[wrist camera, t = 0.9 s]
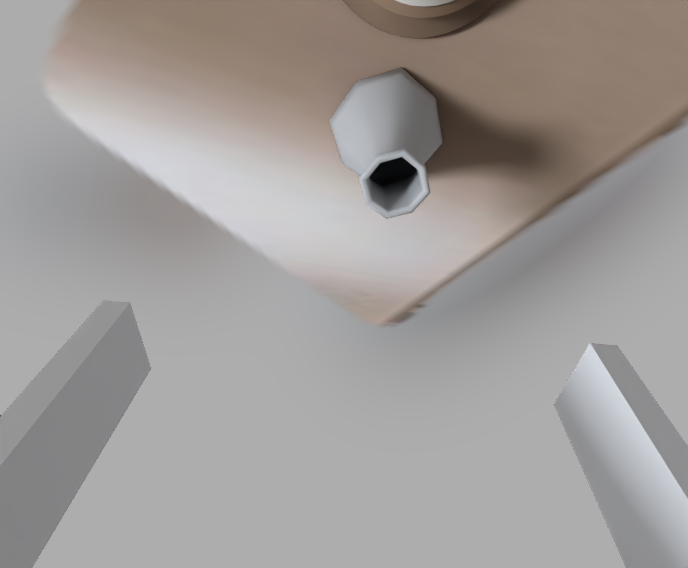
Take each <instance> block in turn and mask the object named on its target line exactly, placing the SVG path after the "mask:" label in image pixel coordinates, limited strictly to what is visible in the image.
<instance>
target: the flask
mask: <svg viewBox="0 0 688 568" xmlns="http://www.w3.org/2000/svg"><path fill="white" fill-rule="evenodd" d="M329 122H330V125H331V128H332V132H333V135H334V138H335V141H336V145H337V148H338V151H339V155H340V158H341V161H342V163H343V164H345V165H346V166H347V167H349V168H350V169H351V170H353V171H354V172H355V173H357V174H358V175H359V176H360V177H359V181H360V185H361V188H362V192H363V195H364V199H365V202H366V204H367V205H368V206H370V207H371V208H372V209H374V210H375V211H376V212H378V213H379V214H381V215H382V216H383V217H385V218H386V219H388V218H392V217H396V216H400V215H404V214H408V213H412V212H413V211H414V210H415V209H416V208H417V207H418V205H419V204H420V203H421V202H422V201H423V200H424V199H425V198H426V197H427V196H428V195H429V194H430V188H429V183H428V177H427V172H426V166H425V163H426V161H427V160H428V159H429V158H430V157H431V156H432V154H433V153H434V152H435V151H436V150H437V149H438V148H439V146H440V145H441V144H442V143H443V141H442V135H441V129H440V122H439V116H438V110H437V103H436V98H435V97H434V96H433V95H432V94H431V93H429V92H428V91H427V90H426V89H425V88H424V87H423V86H422V85H420V84H419V83H418V82H417V81H416V80H415V79H414V78H413V77H411V76H410V75H409V74H408V73H407V72H406V71H405V70H404V69H402V68H401V67H400V68H397V69H394V70H391V71H388V72H385V73H382V74H379V75H376V76H373V77H370V78H366V79H363V80H360V81H357V82H355V84H354V85H353V87H352V88H351V90H350V91H349V93H348V94H347V95H346V97H345V98H344V100H343V101H342V103H341V104H340V106H339V107H338V109H337V110H336V112H335V113H334V115H333V116H332V117H331V119H330V120H329Z"/></svg>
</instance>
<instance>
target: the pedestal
mask: <svg viewBox="0 0 688 568" xmlns="http://www.w3.org/2000/svg"><path fill="white" fill-rule="evenodd" d="M343 1H344V2H345V3H346V4H347V5H348V7H349V8H350V9H351V10H352V11H353V12H354V13H355V14H357V15H358V16H359V17H360V18H362V19H363V20H364V21H365V22H367V23H369V24H370V25H372V26H374V27H375V28H377V29H379V30H382V31H384V32H387V33H389V34H392V35H397V36H401V37H409V38H426V37H433V36H438V35H442V34H446V33H449V32H451V31H454V30H456V29H459V28H461V27H463V26H464V25H466V24H468V23H470V22H472V21H473V20H475V19H476V18H478V17H479V16H480V15H482V14H483V13H485V12H486V11H487V10H488V9H489V8H490V7H492V6H493V5H494V4H495V3H496V2H497V1H498V0H343Z"/></svg>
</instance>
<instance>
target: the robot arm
mask: <svg viewBox="0 0 688 568" xmlns="http://www.w3.org/2000/svg"><path fill="white" fill-rule="evenodd" d="M150 370H151V367H150V363H149V361H148V357H147V354H146V351H145V348H144V345H143V342H142V338H141V335H140V332H139V329H138V326H137V323H136V320H135V317H134V314H133V311H132V307H131V304H130V303H129V302H117V301H105V300H104V301H102V303H101V304H100V305H99V306H98V307H97V308H96V310H95V311H94V312H93V313H92V314H91V315H90V316H89V317H88V318H87V319H86V321H85V322H84V323H83V324H82V325H81V326H80V327H79V328H78V330H77V331H76V332H75V333H74V334H73V335H72V336H71V338H70V339H69V340H68V341H67V342H66V343H65V344H64V345H63V347H62V348H61V349H60V350H59V351H58V352H57V353H56V354H55V356H54V357H53V358H52V359H51V360H50V361H49V362H48V363H47V365H46V366H45V367H44V368H43V369H42V370H41V372H39V374H38V375H37V376H36V377H35V378H34V379H33V380H32V381H31V383H30V384H29V385H28V386H27V387H26V388H25V389H24V390H23V392H22V393H21V394H20V395H19V396H18V397H17V398H16V400H15V401H14V402H13V403H12V404H11V405H10V406H9V407H8V408H7V410H6V411H5V412H4V413H3V414H2V415H0V568H32V567H33V565H34V564H35V562H36V560H37V559H38V557H39V555H40V554H41V552H42V550H43V549H44V547H45V545H46V543H47V542H48V540H49V539H50V537H51V535H52V534H53V532H54V530H55V529H56V527H57V525H58V524H59V522H60V520H61V519H62V517H63V515H64V513H65V512H66V510H67V509H68V507H69V505H70V504H71V502H72V500H73V498H74V497H75V495H76V493H77V492H78V490H79V488H80V486H81V485H82V483H83V482H84V480H85V478H86V476H87V475H88V473H89V472H90V470H91V468H92V467H93V465H94V463H95V462H96V460H97V458H98V457H99V455H100V453H101V452H102V450H103V448H104V447H105V445H106V443H107V442H108V440H109V438H110V437H111V435H112V433H113V431H114V430H115V428H116V427H117V425H118V423H119V422H120V420H121V418H122V416H123V415H124V413H125V411H126V410H127V408H128V406H129V404H130V403H131V401H132V400H133V398H134V396H135V395H136V393H137V391H138V390H139V388H140V386H141V385H142V383H143V381H144V380H145V378H146V376H147V375H148V373H149V371H150ZM554 406H555V408H556V411H557V413H558V415H559V417H560V420H561V422H562V424H563V426H564V429H565V431H566V433H567V435H568V438H569V440H570V442H571V444H572V447H573V449H574V451H575V453H576V456H577V458H578V460H579V463H580V465H581V467H582V469H583V472H584V474H585V476H586V478H587V481H588V483H589V485H590V487H591V490H592V492H593V494H594V496H595V499H596V501H597V503H598V505H599V508H600V510H601V512H602V514H603V517H604V519H605V521H606V523H607V526H608V528H609V530H610V533H611V535H612V537H613V539H614V542H615V544H616V546H617V548H618V550H619V553H620V555H621V557H622V560H623V562H624V564H625V566H626V568H688V446H687V444H686V443H685V441H684V440H683V439H682V437H681V436H680V434H679V433H678V432H677V430H676V429H675V427H674V426H673V424H672V423H671V422H670V420H669V419H668V417H667V416H666V414H665V413H664V411H663V410H662V409H661V407H660V406H659V404H658V403H657V401H656V400H655V399H654V397H653V396H652V394H651V393H650V391H649V390H648V389H647V387H646V386H645V384H644V383H643V381H642V380H641V379H640V377H639V376H638V375H637V373H636V371H635V370H634V369H633V367H632V366H631V364H630V363H629V362H628V360H627V359H626V357H625V356H624V354H623V353H622V351H621V350H620V349H619V347H618V346H617V345H606V344H595V343H590V344H589V346H588V348H587V349H586V351H585V353H584V354H583V356H582V358H581V359H580V361H579V363H578V365H577V366H576V368H575V370H574V371H573V373H572V375H571V377H570V378H569V380H568V382H567V383H566V385H565V387H564V388H563V390H562V392H561V393H560V395H559V397H558V399H557V400H556V402H555V404H554Z"/></svg>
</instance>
